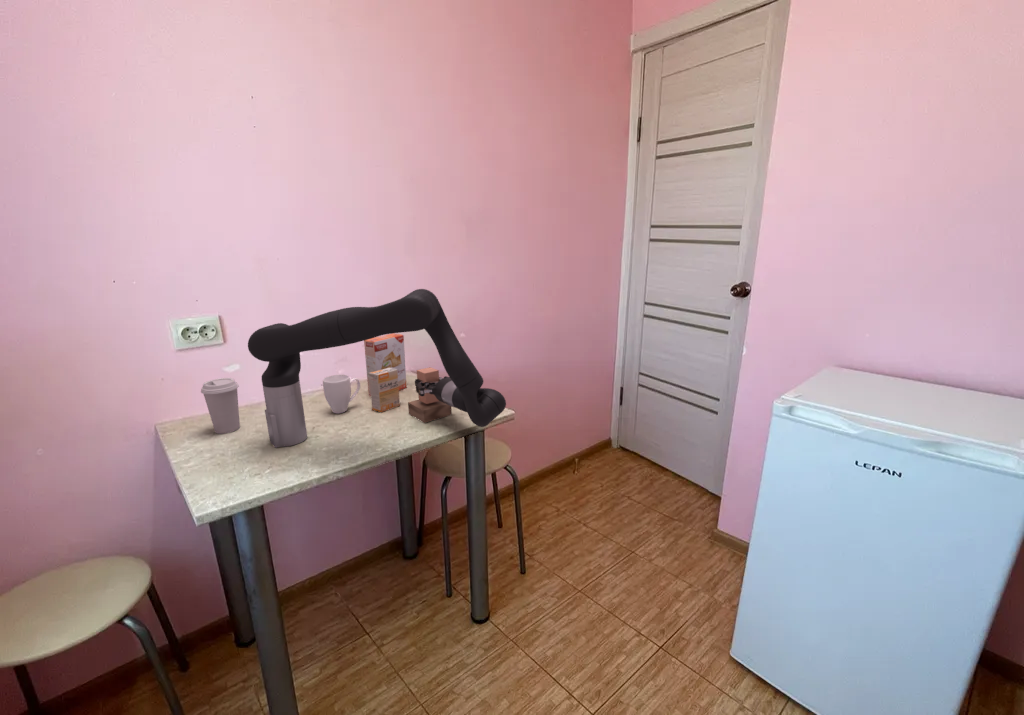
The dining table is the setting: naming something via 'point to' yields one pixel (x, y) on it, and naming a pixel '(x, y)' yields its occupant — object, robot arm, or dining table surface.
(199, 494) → the dining table surface
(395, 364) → the cracker box
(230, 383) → the coffee cup
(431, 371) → the terracotta block
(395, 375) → the supplement box
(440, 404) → the walnut base
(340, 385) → the mug
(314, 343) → the robot arm
